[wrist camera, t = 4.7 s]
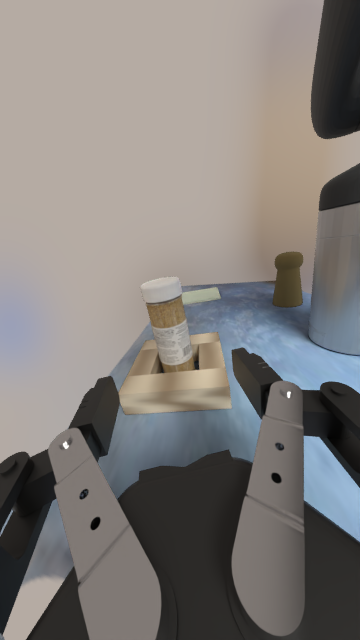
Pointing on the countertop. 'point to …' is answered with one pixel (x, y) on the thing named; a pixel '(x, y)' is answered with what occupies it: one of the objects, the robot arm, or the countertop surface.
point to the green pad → (200, 296)
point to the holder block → (177, 381)
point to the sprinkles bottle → (169, 323)
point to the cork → (288, 280)
